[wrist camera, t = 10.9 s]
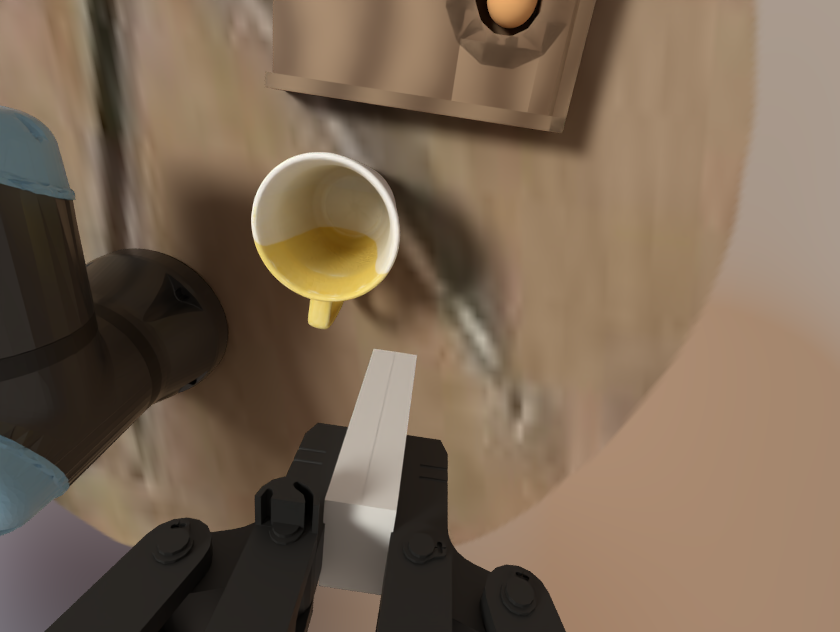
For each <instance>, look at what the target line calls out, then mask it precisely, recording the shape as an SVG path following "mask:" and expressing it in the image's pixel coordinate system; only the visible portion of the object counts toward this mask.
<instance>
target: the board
mask: <svg viewBox="0 0 840 632" xmlns="http://www.w3.org/2000/svg"><path fill="white" fill-rule="evenodd" d="M475 1H476V0H273V73H271V72H265V87H268V88H273V89H278V90H284V91H290V92H297V93H303V94H310V95H316V96H323V97H329V98H335V99H342V100H348V101H355V102H361V103H367V104H374V105H380V106H387V107H393V108H400V109H406V110H412V111H419V112H425V113H432V114H438V115H445V116H451V117H457V118H464V119H470V120H477V121H483V122H490V123H496V124H502V125H509V126H515V127H522V128H528V129H535V130H541V131H547V132H555V133H562V132H563V128H564V124H565V120H566V116H567V113H568V109H569V105H570V101H571V97H572V93H573V89H574V85H575V81H576V77H577V73H578V69H579V65H580V62H581V58H582V54H583V50H584V46H585V42H586V38H587V34H588V30H589V26H590V22H591V18H592V14H593V11H594V7H595V3H596V0H538V4H537V9H536V13H535V18H534V20H533V22H532V23H531V24H530V26H529V27H528V28H527V29H526V30H524V31H522V32H519V33H517V34H515V35H513V36H507V35H500V34H494V33H493V32H492V31H491V30H490V29H489V28H488V27H487V26H486V25H485V24H484V23H483V22H482V21H481V19H480V16H479V12H478V9H477V6H476V2H475Z"/></svg>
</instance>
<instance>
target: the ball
mask: <svg viewBox="0 0 840 632" xmlns="http://www.w3.org/2000/svg"><path fill="white" fill-rule="evenodd" d="M536 4H537V0H487V7H488V11H489V14H490V16H491V18H492V19H493V21H494V22H495V23H496V24H498V25H499V26H501V27H504V28H515V27H518V26H520V25H522V24H523V23H525V22H526V21H527V20H528V19H529V18H530V16H531V15H532V13H533V12H534V9H535V7H536Z"/></svg>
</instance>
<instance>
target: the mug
mask: <svg viewBox="0 0 840 632" xmlns="http://www.w3.org/2000/svg"><path fill="white" fill-rule="evenodd" d="M251 226H252V234H253V238H254V242H255V246H256V248H257V251H258V253H259V255H260V257H261V259H262V261H263V262H264V264H265V265H266V267H267V268H268V270H269V271H270V272H271V273H272V275H273V276H274V277H275V278H276V279H277V280H278V281H280V282H281V283H282V284H283V285H284V286H286V287H287V288H289V289H290V290H292V291H294V292H295V293H297V294H299V295H302V296H304V297H307V298H309V299H310V307H309V314H308V323H309V325H311V326H313V327H315V328H319V329H327V328H329V327H330V326H331V325H332V323H333V322H334V320H335V318H336V317H337V315H338V313H339V311H340V309H341V307H342V305H343V302H344V301H346V300H350V299H354V298H357V297H359V296H362V295H364V294H366V293H367V292H369V291H371V290H372V289H374V288H375V287H376V286H377V285H378V284H380V283H381V282H382V281H383V280H384V278H385V277H386V276H387V274H388V273H389V271H390V270H391V268H392V266H393V264H394V262H395V260H396V257H397V253H398V250H399V244H400V223H399V217H398V212H397V208H396V202H395V199H394V195H393V193H392V190H391V188H390V186H389V185H388V183H387V182H386V180H385V179H384V178H383V177H382V176H381V175H380V174H379V173H378V172H377V171H375V170H374V169H372V168H371V167H369V166H367V165H365V164H362V163H360V162H358V161H355V160H353V159H350V158H348V157H345V156H341V155H337V154H333V153H328V152H312V153H305V154H301V155H297V156H294V157H292V158H289V159H287V160H285V161H284V162H282V163H281V164H279V165H278V166H276V167H275V168H274V169H273V170H272V171H271V172H270V173H269V174H268V175H267V176H266V178H265V179H264V180H263V182H262V183H261V185H260V187H259V189H258V191H257V193H256V196H255V198H254V203H253V208H252V214H251Z"/></svg>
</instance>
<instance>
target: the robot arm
mask: <svg viewBox="0 0 840 632" xmlns="http://www.w3.org/2000/svg"><path fill="white" fill-rule="evenodd" d="M73 200H76V199H75V193H74V191H73V190H71V189H70V187H69V183H68V179H67V176H66V172H65V169H64V165H63V162H62V158H61V154H60V151H59V147H58V143H57V141H56V139H55V137H54V135H53V134H52V132H51V131H50V130H49V129H48V128H47V127H46V126H45V125H44V124H43V123H42V122H41V121H39V120H38V119H36V118H35V117H33V116H31V115H29V114H27V113H25V112H22V111H20V110H16V109H12V108H8V107H4V106H0V536H1V535H4V534H7V533H10V532H11V531H14V530H15V529H17V528H19V527H21V526H22V525H24V524H25V523H26V522H28V521H29V520H30V519H31V518H32V517H34V516H35V515H36V514H37V513H38V512H39V511H40V510H42V509H43V508H44V507H45V506H46V505H47V504H48V503H50V502H51V501H52V500H53V499H54V498H57V497H59V496H61V495H63V494H64V493H65V492H66V491H67V490H68V488H69V486H70V485H71V484H72V483H73V482H74V481H75V480H76V479H77V478H78V477H79V476H80V475H81V474H82V473H83V472H84V471H85V470H86V469H88V468H89V467H90V466H91V465H92V464H93V463H94V462H95V461H96V460H97V459H98V458H99V457H100V456H101V455H102V454H103V453H104V452H105V451H106V450H107V449H108V448H109V447H110V446H111V445H112V444H113V443H114V442H115V441H116V440H117V439H118V438H119V437H120V436H121V435H122V434H123V433H124V432H125V431H126V430H127V429H128V428H129V427H130V426H131V425H132V424H133V423H134V422H135V421H136V420H137V419H138V418H139V417H140V416H141V415H142V414H143V413H144V412H145V411H146V410H147V409H148V408H149V407H150V406H151V405H152V404H155V403H157V402H159V401H162V400H164V399H166V398H169V397H171V396H173V395H175V394H177V393H179V392H183V391H185V390H187V389H189V388H192V387H193V386H195V385H197V384H198V383H200V382H201V381H202V380H203V379H204V378H206V377H207V376H208V374H209V373H210V372H211V371H212V370H213V369H214V368H215V367H216V366H217V365H218V363H219V362H220V361H221V359H222V357H223V355H224V353H225V350H226V346H227V340H228V329H227V322H226V318H225V314H224V311H223V309H222V306H221V304H220V302H219V301H218V299H217V297H216V295H215V294H214V292H213V291H212V290H211V288H210V287H209V286H208V285H207V283H206V282H205V281H204V280H203V279H202V278H201V277H200V276H199V275H198V274H196V273H195V272H194V271H193V270H192V269H190V268H189V267H187V266H186V265H184V264H183V263H181V262H180V261H178V260H176V259H174V258H172V257H170V256H167V255H165V254H162V253H159V252H155V251H151V250H146V249H123V250H118V251H115V252H112V253H109V254H107V255H104V256H101V257H99V258H96V259H94V260H92V261H90V262H89V263H87V264H85V259H84V255H83V250H82V245H81V240H80V236H79V231H78V226H77V221H76V215H75V210H74V204H73ZM416 359H417V355H412V354H406V353H399V352H393V351H386V350H380V349H373V352H372V356H371V359H370V362H369V365H368V368H367V371H366V374H365V377H364V380H363V383H362V386H361V389H360V393H359V396H358V399H357V402H356V405H355V408H354V411H353V414H352V417H351V420H350V423H349V426H348V427H343V426H336V425H330V424H323V423H317V424H316V425H315V426H314V427H313V428H311V429H310V430H309V431H308V432H307V433H306V434H305V436H304V438H303V440H302V442H301V445H300V447H299V450H298V451H297V453H296V456H295V458H294V461H293V462H292V464H291V467H290V469H289V471H288V473H287V475H286V477H281V478H278V479H274V480H272V481H270V482H269V483H267V484H265V485H264V486H262V487H261V489H260V490H259V491H258V492H257V494H256V495H255V523H252V524H250V525H248V526H245V527H241V528H237V529H232V530H225V531H218V532H210V530H209V528H208V526H207V525H206V524H204V523H203V522H201V521H200V520H197V519H192V518H180V519H173V520H171V521H168V522H166V523H163V524H161V525H159V526H157V527H156V528H155V529H153V530H152V531H150V532H149V533H148V534H146V535H145V536H144V537H143V538H142V539H141V540H140V541H139V542H138V543H137V544H136V545H135V546H134V547H133V548H132V549H131V550H130V551H129V552H128V553H127V554H125V555H124V556H123V557H122V558H121V559H120V560H119V561H118V562H117V563H116V564H115V565H114V566H113V567H112V568H111V569H110V570H109V571H108V572H107V573H105V574H104V575H103V576H102V577H101V578H100V579H99V580H98V581H97V582H96V583H95V584H94V585H93V586H92V587H91V588H90V589H89V590H88V591H87V592H86V593H84V594H83V595H82V596H81V597H80V598H79V599H78V600H77V601H76V602H75V603H74V604H73V605H72V606H71V607H70V608H69V609H68V610H67V611H66V612H65V613H64V614H62V615H61V616H60V617H59V618H58V619H57V620H56V621H55V622H54V623H53V624H52V625H51V626H50V627H49V628H48V629H47V630H46V631H45V632H307V631H308V627H309V623H310V620H311V616H312V612H313V599H314V594H315V590H316V586H317V583H318V580H319V586H324V587H330V588H337V589H344V590H350V591H357V592H364V593H370V594H377V595H381V600H380V607H379V613H378V619H377V626H376V632H566V631H565V629H564V626H563V624H562V622H561V620H560V617H559V615H558V613H557V610H556V608H555V606H554V604H553V601H552V599H551V597H550V595H549V593H548V591H547V589H546V588H545V587H544V585H543V583H542V582H541V581H540V580H539V579H538V578H537V577H536V576H535V575H534V574H533V573H531V572H530V571H528V570H526V569H524V568H522V567H519V566H513V565H504V566H500V567H497V568H495V569H494V570H493V571H492V572H489V571H487V570H485V569H483V568H481V567H479V566H477V565H475V564H473V563H471V562H470V561H468V560H466V559H465V558H464V557H463V556H461V555H460V554H459V553H458V552H457V551H456V549H455V548H454V546H453V545H452V543H451V541H450V538H449V535H448V483H447V481H448V471H447V469H448V454H447V452H446V450H445V448H444V446H443V444H442V442H441V440H436V439H430V438H423V437H416V436H410V435H407V428H408V420H409V412H410V405H411V397H412V389H413V382H414V374H415V367H416Z"/></svg>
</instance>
